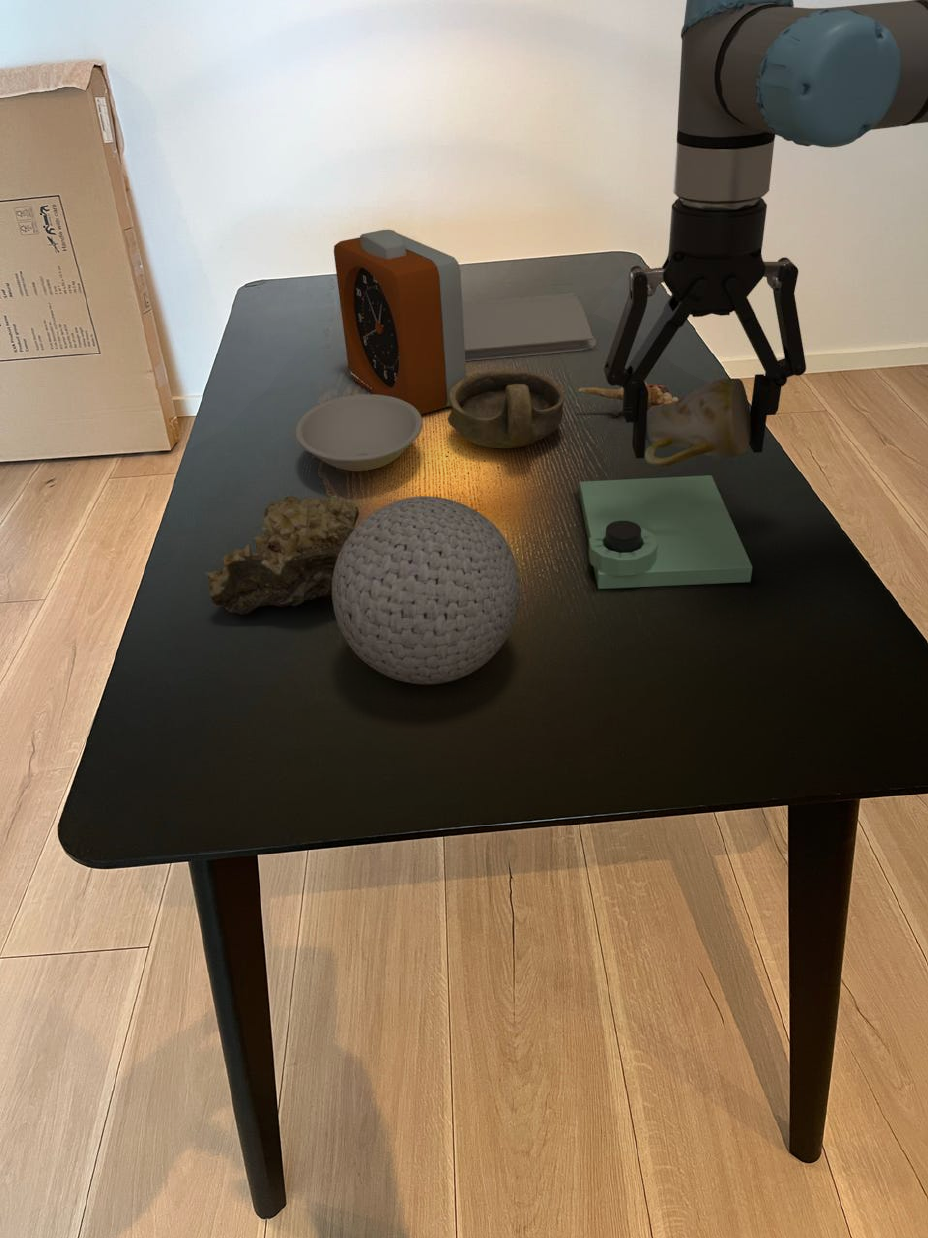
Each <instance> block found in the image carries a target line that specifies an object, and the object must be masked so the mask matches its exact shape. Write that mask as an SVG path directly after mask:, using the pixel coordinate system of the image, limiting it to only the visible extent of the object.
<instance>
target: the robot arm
mask: <svg viewBox="0 0 928 1238" xmlns="http://www.w3.org/2000/svg"><path fill="white" fill-rule="evenodd" d="M684 11H685V12H684V20H683V26H682V28H681V31H680V39H681V54H680V69H679V70H680V71H679V88H678V89H679V91H678V107H677V108H678V110H677V129H676V132H677V133H676V145H675V146H676V147H675V155H674V156H675V158H674V168H673V169H674V170H673V182H672V192H673V194H674V195H675V196H676V197H677V198H676V199H675V201H674V202H673V203H672V204H671V211H670V223H669V224H670V225H669V240H668V242H669V243H668V251H667V257H666V259H665V261H664V262H663V264H662V266H660V267H652V268H642V266H640V265H634V266H632V267H631V268H630V270H629V272H628V283H629V285H628V286H629V287H628V289H629V293H628V296H627V298H626V302H625V304H624V305H625V306H624V308H623V311H622V314H621V317H620V320H619V323H618V325H617V329H616V331H615V333H614V337H613V340H612V343H611V347H610V349H609V352H608V356H607V358H606V360H605V364H604V367H603V372H604V375H605V378H606V379H605V380H606V381H607V383H608V385H610V386H619V387H621V388H622V387H623V388H624V391H623V400H622V414H623V417H624V420H625V422H626V423H628V424H629V423H632V438H631V439H632V441H631V446H632V450H633V453H634V456H635V459H637V460H638V459H645V458H644V456H645V451H646V423H647V406H648V390H647V387H646V385H645V382H644V380H645V381H646V379H647V378H648V376H649V375H650V373H651V371H652V370H653V369H654V367H655V365H656V364H657V363H658V361H659V359H660V358H661V356H662V354H663V353H664V351H665V350H666V348H667V347H668V345H669V344H670V342H671V341H672V339H673V338H674V336H675V334H676V333H677V332H678V330H679V329H680V328H682V327H683V326H684V325H685V323H686V322H687V320H688V319H689V318H690V316H692V318H703V317H705V316H709V315H716V316H720V317H721V316H722V317H723V316H730V315H731V313H733V312H734V314H735V315H736V316H737V319H738V321H739V323H740V325H741V326H742V329H743V331H744V333H745V335H746V337H747V339H748V340H749V343H750V344H751V347H752V348H753V351H754V352H755V355H756V357H757V359H758V360H759V363H760V364H761V366H762V369H763V370H764V373H757V374H754V380H753V388H752V396H751V397H752V398H751V403H750V418H751V436H750V437H751V438H750V444H749V448H750V449H751V450H752V453H753V454H757V453H758V454H759V453H763V448H764V440H765V433H766V424H767V418H768V417H767V416H775V415H776V414H777V413H778V411H779V409H780V408H779V407H780V399H781V393H782V387H784V386H785V385H786V384H787V381H788V378H789V377H793V376H797V377H799V376H802V375H804V374H805V373H806V371H807V364H806V358H805V351H804V346H803V345H804V344H803V339H802V333H801V327H800V321H799V320H800V319H799V314H798V308H797V307H798V306H797V301H796V296H795V293H796V286H797V281H798V277H799V269H798V267H797V266H796V265H795V263H793V261H791V259H789V258H788V257H787V256H786V257H781V258H779V259H778V260H777V261H764V259H763V256H762V250H763V243H764V235H765V228H766V227H765V226H766V217H767V209H768V204H767V203H766V201H765V200H764V199H763V197H765V195H767V194H768V193H769V192H770V188H771V187H770V185H771V178H772V177H771V176H772V169H773V168H772V167H773V158H774V149H775V139H776V136H778V137H780V138H782V139H783V140H784V141H787V142H792V143H794V144H795V145H798V146H803V147H810V146H815V147H821V148H828V149H829V148H838V147H839V148H840V147H844V146H847V145H850V144H852V143H854V142H855V141H857V140H858V139H860V138H862V137H863V136H864V135H866V134H867V133H868V132H870V131H873V130H883V129H891V128H899V127H907V126H910V125H915V124H926V123H928V0H902V1H892V2H891V1H890V2H879V3H865V4H855V5H846V6H845V5H843V6H834V7H833V6H832V7H795V4H794V0H686V3H685V10H684ZM763 278H766V283H767V285H768V286H769V287H770V288H771V290H772V293H773V300H774V306H775V312H776V316H777V317H776V318H777V322H778V328H779V333H780V339H781V346H782V350H783V351H782V352H783V356H784V357H783V358H781V359H778V358H777V356H776V355H775V354H776V353H775V352H774V350H773V348H772V345H771V344H770V342H769V340H768V337H767V336H766V334H765V332H764V330H763V328H762V326H761V324H760V322H759V319H758V317H757V316H756V313H755V311H754V309H753V306H752V305H751V302H750V301H749V298H748V297H749V295H750V294H751V293H752V292H753V291H754V289H755V288H756V287H757V285H758V284H759V283H760V282H761V281H762V279H763ZM663 283H664V284H665V286H666V287H667V289H668V290H669V292H670V293H671V295H670V297H668V300H667V301H666V303H665V304H664V306H663V309H662V312H661V314H660V316H659V317H658V318H657V320H656V322H655V323H654V325H653V327H652V328H651V329H650V331H649V333H648V334H647V336H646V337H645V339H644V340H643V342H642V344H641V345H640V347H639V349H638V350H637V351H636V353H635V354H634V356H633V358H632V359H631V361H630V362H629V364H628V366H627V363H628V360H629V357H630V354H631V351H632V349H633V346H634V343H635V341H636V338H637V334H638V331H639V329H640V326H641V323H642V321H643V317H644V316H645V312H646V308H647V305H648V298H650V297H652V296H653V295H655V293H656V290H657V288H658V286H659V285H660V284H663Z"/></svg>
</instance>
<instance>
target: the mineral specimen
mask: <svg viewBox="0 0 928 1238" xmlns="http://www.w3.org/2000/svg"><path fill="white" fill-rule="evenodd" d="M358 507H359V505H358V504H357V503H354V502H350V501H348V500H345V498H344V497H343V496H341V497H338V496H337V495H334V496H332V497H329V498H328V499H327V498H325V499H323V498H320V497H319V498H318V497H317V498H316V497H314V496H313V497H312V498H307V497H306V498H303V499H301V498H298V497H295V496H287V497H285V498H284V499H281V500H280V499H279V500H275V501H272V502H270V503H269V504H268V505H267V506H266V507H265V508H264V514H263V515H264V518H263V520H262V529H261V532H262V536H259V535H257V536H255V537H253V538H252V540H253V542H254V544H255V545H256V552H252V550H251V545H250V543H248V544H247V545H246V546H245V547H244V548H242V549H239V548H236V549H235V550H234V551H233V553H232V554H231V553H230V552H228V553H226V554H223V557H222V565H223V566H222V567H221V571H220V572H219V571H217V570H214V571H211V572H204V574H205V576H206V578H207V580H208V581H209V582H210V583H209V584H207V587H209V588H210V590H209V595H210V599H211V601H212V603H213V604H214V605H215V606H222V607H223V608H224V609H225V610H227V611H228V613H231V614H239V615H241V616H243V615H247V614H250V613H251V612H252V611H254V610H255V609H257V608H259V607H264V606H274V607H275V606H276V607H281V608H282V607H283V608H284V607H288V606H293V607H296V606H298V605H301V604H303V602H305V601H308V600H309V601H312V600H315V599H317V598H321V597H325V596H327V595H330V596H332V580H333V573H334V568H335V564H336V561H337V558H338V556H339V553H340V551H341V549H342V547H343V545H344V543H345V542H346V540H347V538H348V537H349V536H350V534H351V533H352V532H353V530H354V529H355V525H356V523H357V521H358V518H359V515H360V510H359V508H358Z"/></svg>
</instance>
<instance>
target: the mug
mask: <svg viewBox="0 0 928 1238" xmlns="http://www.w3.org/2000/svg"><path fill="white" fill-rule="evenodd" d="M750 411H751V406H750V403H749V399H748V395H747V390H746V387H745V385H744V382H743V380H741V379H740V378H731V377H729V378H720V379H717V380H714V381H712V382H709V383H707V384H705V385H703V386H701V387H699V388H698V389H696V390H694V391H692V392H691V393H689V394H687V395H685V396H684V397H682V398H680V399H678V401H675V402H672V403H668V404H662V405H657V406H652V407H651V408H650V409H649V410H648V411H647V423H646V439H645V441H646V442H647V443H648V444H649V446H648V447H647V448H645V456H644V458H643V459H644V461H645V462H646V463H648V464H649V465H652V466H656V467H667V466H671V465H675V464H677V463H679V462H681V461H682V462H683V461H684V460H686V459H689V458H692V457H695V456H700V455H704V456H708V457H712V458H719V459H728V458H735V457H739V456H742V455H743V456H744V455H746V454H747V453H748V450H749V448H750V445H749V444H750V438H751V437H750V436H751V418H750ZM660 448H682V449H684V450H682V451H680V452H677V453H675V454H673V455H671V456H668V457H666V456H665V457H657V456H655V452H656V451H657V450H658V449H660Z"/></svg>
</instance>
